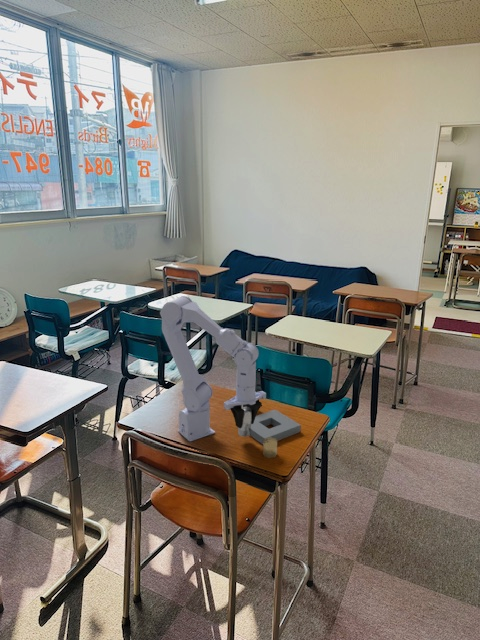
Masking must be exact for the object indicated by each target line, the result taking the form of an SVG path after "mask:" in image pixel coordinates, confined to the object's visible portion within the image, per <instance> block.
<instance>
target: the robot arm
mask: <svg viewBox="0 0 480 640" xmlns="http://www.w3.org/2000/svg"><path fill="white" fill-rule="evenodd" d="M159 315H160V317H161V331H162V334H163V336H164V339H165V342H166V343H167V347H168V349H169V351H170V354H171V356H172V359H173V361H174V363H175V366H176V368H177V371H178V373H179V375H180V378H181V380H182V387H181V394H182V402H183V406H184V407H185V408H184V409H181V410H180V411H179V413H178V430H177V432H179V434H181V435H182V436H183V437H184V438H185V439H186V440H187V441H188V442H193V441H196V440H198V439H201V438H205V437H207V436H211V435H214V434H215V433H216V431H215V430H214V429H212V427H210V426H211V425H210V424H211V420H210V418H211V417H210V415H211V414H210V399H211V398H212V397H213V394H214V393H213V388H212V386H211V385H210V384H209V383H208V382H207V380H206V378H205V377H204V376H202V375H200V374H199V370H198V368H197V366H196V363H195V361H194V359H193V357H192V353H191V351H190V349H189V346H188V345H187V342H186V340H185V337H184V334H183V332H182V328H183V325H184V324H185V323H194V324H196V325H197V326H198V327H200V329H202V330H204V331H205V332H207V333H208V334H209V335H211V336H212V337H214V339H215V343H216V345H218V346H219V347H220V348H221V349H222V350H223V351H225V352H227V354H229V355H230V356H232V358H233V361H234V363H235V365H236V386H235V388H236V389H235V390H236V392H235V396H233V397H232V398H230V399H228V400H227V401H224V402H223V409H224V410H226V411H229V410H230V412H231V413H232V416H233V419H234V422H235V426H236V427H237V428H242V418H243V414H244V411H245V410H243V409H242V407H241V405H245V404H247V407H249V408H251V409H252V419H251V424H253V423H254V420H255V417H256V416H257V414H258V412H259V411H260V409H261V407H262V402H261V401H260V400H265V399H267V392H265V391H263V390H261V391H255V382H256V383H257V381H256V380H257V379H256V374H257V373H256V372H257V370H256V369H257V368H256V367H257V362H256V360H257V359H258V357H259V356H260V355H259V354H260V353H259V349H258V347H257V346H256V345H255V344H254V343H252V342H248V341H246V340H244V339H243V338H241V337H240V336H239V335H237V334H236V331H235V330H234V329H230V328H222V327H221V326H220V325H219V324H217V323H216V322H215V320H214V319H212V318H211V317H210V316H209V315H208V314H207V313H205V312H204V311H203V310H202V309H201V308H200V307H199V304H198V303H197V302H195V301H193V300H192V299H191V298H190V297H188V296H185V295H181V296H179V297H177V298H175V299H174V300H173V299H172V300H171V301H167V302H166V303H164V304H163V306H162V307H161V310H160V311H159Z"/></svg>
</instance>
